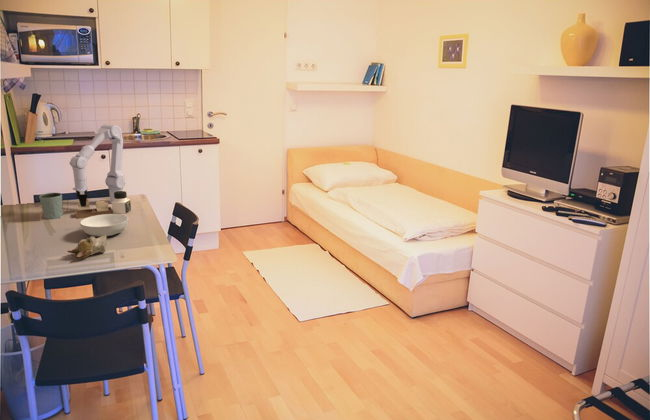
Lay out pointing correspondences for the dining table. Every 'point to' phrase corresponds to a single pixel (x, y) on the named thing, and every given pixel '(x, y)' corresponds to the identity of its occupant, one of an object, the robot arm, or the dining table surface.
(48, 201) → the green cylindrical pot
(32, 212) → the dining table surface
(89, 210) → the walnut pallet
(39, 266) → the dining table surface
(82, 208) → the birch block
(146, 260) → the dining table surface
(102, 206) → the block
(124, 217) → the serving bowl
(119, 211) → the medicine bottle
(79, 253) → the ceramic sculpture
